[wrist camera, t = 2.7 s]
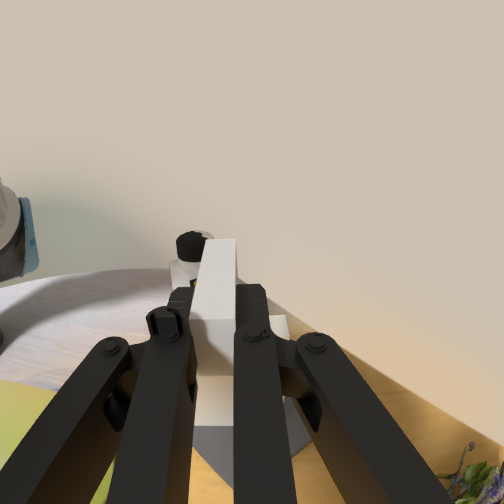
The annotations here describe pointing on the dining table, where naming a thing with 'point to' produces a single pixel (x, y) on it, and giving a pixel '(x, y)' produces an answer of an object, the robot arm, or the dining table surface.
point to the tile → (225, 388)
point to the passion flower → (478, 483)
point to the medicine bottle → (188, 258)
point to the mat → (221, 442)
